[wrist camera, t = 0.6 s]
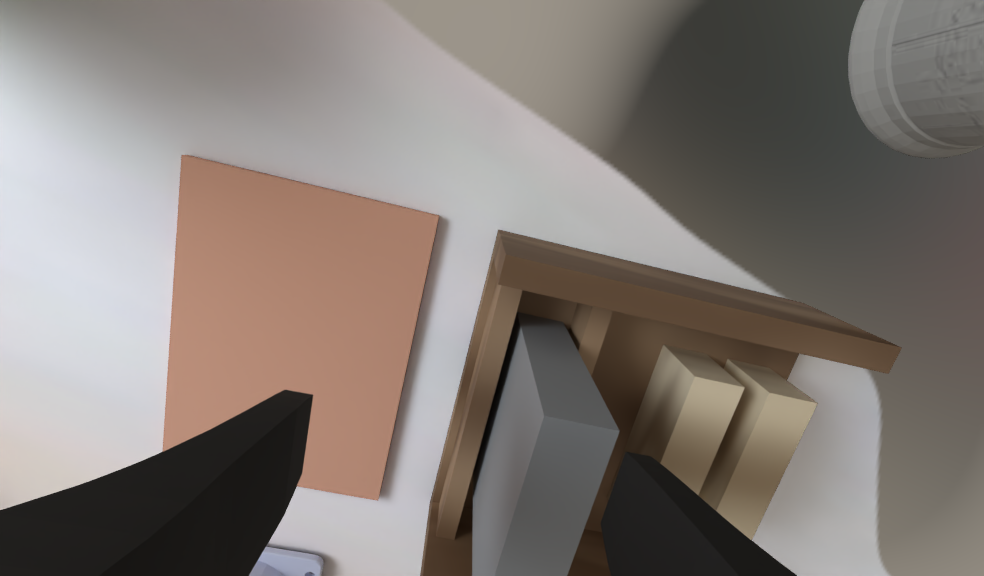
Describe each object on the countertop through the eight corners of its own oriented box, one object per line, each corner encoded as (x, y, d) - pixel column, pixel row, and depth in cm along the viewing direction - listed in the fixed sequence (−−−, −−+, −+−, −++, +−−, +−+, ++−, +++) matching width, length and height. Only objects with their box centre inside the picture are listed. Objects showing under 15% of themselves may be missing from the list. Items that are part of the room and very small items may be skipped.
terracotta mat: (379, 494, 23) (377, 500, 22) (167, 456, 22) (161, 462, 21) (439, 215, 19) (438, 216, 19) (187, 154, 18) (181, 154, 18)
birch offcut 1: (646, 504, 22) (671, 556, 19) (606, 496, 22) (626, 548, 19) (706, 354, 20) (744, 387, 17) (663, 344, 20) (694, 376, 17)
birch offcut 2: (704, 515, 23) (737, 568, 20) (665, 508, 22) (694, 560, 19) (769, 368, 20) (817, 403, 18) (727, 358, 20) (769, 392, 17)
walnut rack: (692, 550, 24) (745, 647, 20) (429, 503, 23) (417, 595, 18) (803, 303, 21) (901, 347, 16) (498, 229, 19) (505, 254, 15)
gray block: (515, 479, 22) (536, 659, 14) (473, 471, 21) (471, 649, 14) (563, 322, 20) (619, 430, 12) (517, 311, 19) (544, 415, 12)
